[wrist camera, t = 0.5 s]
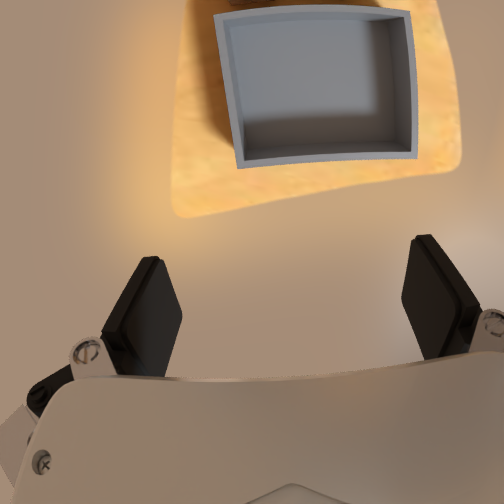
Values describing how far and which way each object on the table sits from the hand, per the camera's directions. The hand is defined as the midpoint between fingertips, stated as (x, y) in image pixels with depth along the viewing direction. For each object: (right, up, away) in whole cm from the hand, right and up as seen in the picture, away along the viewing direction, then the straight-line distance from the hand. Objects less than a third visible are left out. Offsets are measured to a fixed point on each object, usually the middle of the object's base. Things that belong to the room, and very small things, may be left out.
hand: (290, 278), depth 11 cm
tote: (+6, +20, +19) cm, 29 cm away
